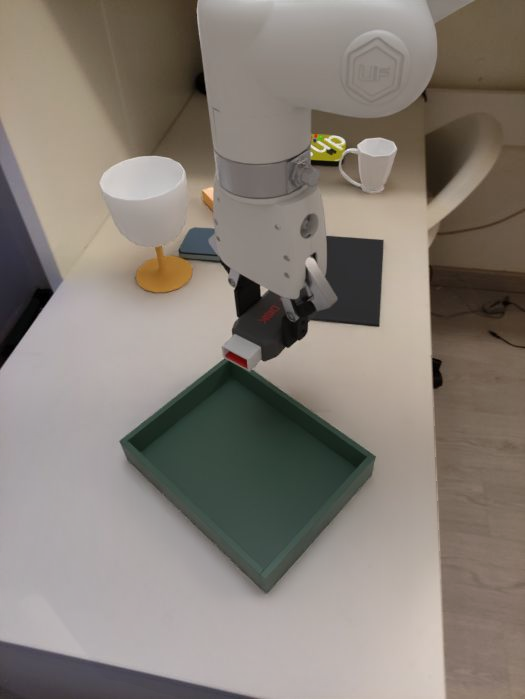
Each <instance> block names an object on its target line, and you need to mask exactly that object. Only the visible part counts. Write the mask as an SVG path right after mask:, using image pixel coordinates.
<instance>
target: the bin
mask: <svg viewBox="0 0 525 699" xmlns="http://www.w3.org/2000/svg"><path fill="white" fill-rule="evenodd" d="M119 445H120V447H121V449H122V451H123V453H124V455H125V458H126V459H127V461H128V462H129V463H130V464H131V465H132V466H133V467H134V468H135V469H137V471H139V472H140V473H141V475H142V476H144V477H145V478H146V479H147V480H148V481H149V482H150V483H151V484H152V485H153V487H155V488H156V489H157V490H158V491H159V492H160V493H161V494H162V495H164V497H165V498H166V499H168V501H169V502H170V503H172V505H173V506H175V507H176V508H177V509H178V510H179V511H180V512H181V513H182V514H183V515H184V516H185V517H186V518H187V519H188V520H189V521H190V522H191V523H192V524H193V525H195V527H197V529H199V530H200V531H201V532H202V534H203V535H204V536H206V537H207V539H209V540H210V541H211V542H212V543H213V544H214V545H215V546H216V547H217V548H218V549H219V550H220V551H221V552H222V553H223V554H225V555H226V557H228V558H229V559H230V560H231V561H232V562H233V563H234V564H235V565H236V566H237V567H238V568H239V569H240V570H241V571H242V572H243V573H244V574H245V575H246V576H247V577H248V578H249V579H250V580H251V581H252V582H253V583H254V584H255V585H256V586H258V588H259V589H261V591H263V592H264V593H265V594H269V592H270V591H271V590H272V589H273V588H274V587H275V585H277V583H278V582H279V581H280V580H281V578H283V576H284V575H285V574H286V573H287V572H288V571H289V570H290V569H291V567H292V566H294V564H295V563H296V561H298V559H299V558H300V557H301V556H302V555H303V553H305V551H306V550H307V549H308V548H309V547H310V546H311V545H312V543H313V542H315V541H316V539H317V538H318V537H319V536H320V535H321V533H322V532H323V531H324V530H325V529H326V527H328V525H329V524H330V523H332V521H333V519H334V518H335V517H336V516H337V515H338V514H339V513H340V512H341V511H342V510H343V508H344V507H345V506H346V505H347V504H348V503H349V502H350V500H351V499H352V498H353V497H354V496H355V495H356V494H357V493H358V492H359V490H360V489H361V488H362V487H363V485H365V483H366V482H367V481H368V480H369V479H370V478H371V476H373V472H374V468H375V463H376V458H377V456H376V455H375V454H373V453H372V452H371V451H369V450H368V449H366V447H364V446H362V445H361V444H360V443H358V442H357V441H355V440H353V439H352V438H351V437H350V436H348V435H346V434H345V433H344V432H342V431H341V430H339V429H337V428H336V427H335V426H333V425H332V424H331V423H329V422H328V421H327V420H325V419H324V418H322V417H321V416H320V415H319V414H317V413H315V412H313V410H311V409H309V408H308V407H307V406H305V405H303V404H302V403H301V402H300V401H298V400H297V399H295V398H293V397H292V396H291V395H289V394H288V393H286V392H285V391H284V390H282V389H281V388H279V387H278V386H276V385H275V384H273V383H272V382H271V381H270V380H268V379H267V378H266V377H264V376H262V375H261V374H259V373H258V372H257V371H255V370H254V369H252V370H251V371H250V372H249V371H247V370H245V369H244V368H242V367H240V366H238V365H236V364H234V363H232V362H231V361H229V360H227V359H225V358H223V359H221V360H220V361H218V362H217V363H216V364H215V365H214V366H212V367H211V368H210V369H209V370H207V371H206V372H205V373H204V374H202V375H201V376H200V377H198V378H197V379H196V380H194V381H193V382H192V383H191V384H190V385H188V386H187V387H186V388H185V389H183V390H182V391H181V392H179V393H178V394H177V395H176V396H174V397H173V398H172V399H171V400H169V401H168V402H167V403H166V404H164V405H163V406H162V407H160V408H159V409H158V410H157V411H155V412H154V413H153V414H152V415H150V416H148V418H146V419H145V420H144V421H143V422H141V423H140V424H139V425H138V426H136V427H135V428H133V429H132V430H131V431H129V433H127V434H125V435H124V436H123V437H122V438H121V439H120V440H119Z"/></svg>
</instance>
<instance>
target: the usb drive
mask: <svg viewBox="0 0 525 699" xmlns="http://www.w3.org/2000/svg"><path fill="white" fill-rule="evenodd" d="M311 293H312V292H311ZM312 295H313V294H312ZM294 300H295V303H296V302H298V301H299V300H300V297H299V298H297V299H294ZM318 312H319V311H318ZM318 312H317V311H316V312H313V313H312V314H310V315H308V323H310V321H312V320H311V319H312V318H313V317H314V316H315V315H316V314H317V313H318ZM285 314H286V312H285V309H284V306H283V303H282V300H281V297H280V295H278V294H276V293H274V292H272V291H270V290H268V289H267V291H265V292H264V293H263V294H261V297H260V298H259V299H258V300H257V301H256V302H255V303H254V304H253V305H252V306H251V307H250V308H249V309H248V310H247V311H246V312H245V313H244V314H243V315H242V316H241V317H239V318H238V317H237V319H236V320H235V321H234V323H233V325H232V328H231V335H232V336H231V337H229V339H228V340H226V341H225V342H224V344H222V346H221V351H222V358H223V359H224V358H225V359H227V360H229V361H231V362H232V363H234V364H236V365H238V366H240V367H242V368H244V369H245V370H247V371H249V372H250V371H251V370H254V368H255V367H256V366H257V365H258V363H260V361H262V362H268V361H270V360H273V359H275V358H277V357H279V355H280V354H281V353H282V352H283V351H284V350H285V349H286V347H285V346H284V345H283V340H282V317H283V316H284V315H285Z"/></svg>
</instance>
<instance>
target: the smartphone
mask: <svg viewBox="0 0 525 699" xmlns="http://www.w3.org/2000/svg"><path fill="white" fill-rule="evenodd" d="M214 233H215V228H214V227H213V228H211V227H197V226H194V227H191V228H189V229H188V231H187V232H186V235H185V237H184V238H183V241H182V242H181V244H180V246H179V247H178V250H177V251H178V257H180V258H183V259H191V260H202V261H203V260H205V261H215V262H216V261H218V262H220V256H219V257H218V255H217V254H216V252H215V251H214V250H213V248H212V247H211V246H210V244H209V242H208V239H209V238H210V237H211V236H212V235H213V234H214Z"/></svg>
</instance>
